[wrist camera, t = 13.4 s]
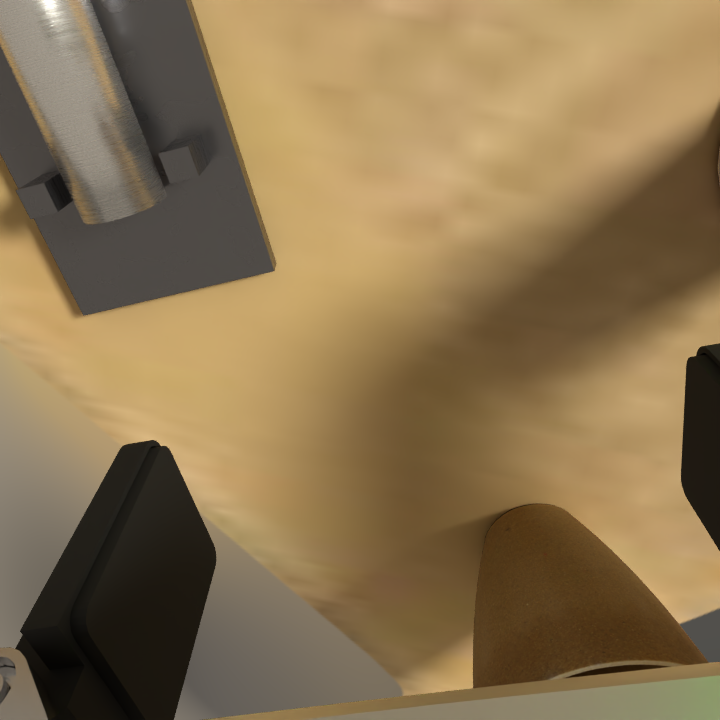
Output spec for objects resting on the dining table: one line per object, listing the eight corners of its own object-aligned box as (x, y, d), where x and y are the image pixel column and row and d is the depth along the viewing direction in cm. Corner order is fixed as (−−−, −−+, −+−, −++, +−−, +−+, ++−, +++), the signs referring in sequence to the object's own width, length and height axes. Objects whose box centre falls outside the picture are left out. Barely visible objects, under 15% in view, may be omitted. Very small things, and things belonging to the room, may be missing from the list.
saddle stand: (59, -407, 24) (-110, -644, 15) (276, 263, 38) (255, 347, 29) (-219, -309, 25) (-529, -475, 16) (90, 307, 39) (15, 400, 30)
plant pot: (489, 622, 55) (538, 832, 41) (406, 516, 49) (432, 724, 35) (654, 557, 52) (768, 764, 38) (589, 433, 45) (698, 628, 31)
